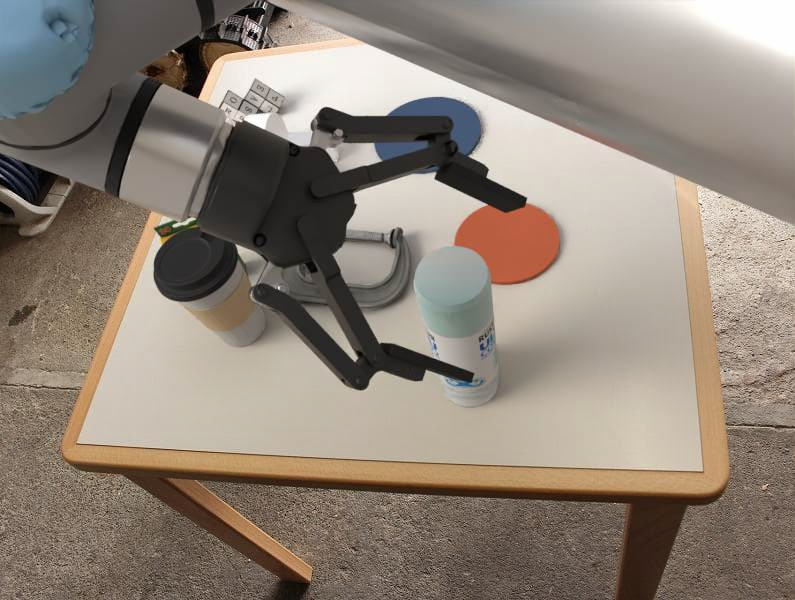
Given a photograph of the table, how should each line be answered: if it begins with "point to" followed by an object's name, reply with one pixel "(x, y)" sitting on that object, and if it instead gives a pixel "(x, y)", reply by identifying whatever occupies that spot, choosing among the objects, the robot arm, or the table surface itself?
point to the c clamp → (362, 294)
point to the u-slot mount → (285, 131)
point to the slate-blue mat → (459, 112)
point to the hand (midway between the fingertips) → (491, 289)
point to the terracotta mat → (511, 242)
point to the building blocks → (251, 101)
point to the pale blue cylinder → (460, 320)
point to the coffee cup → (209, 284)
